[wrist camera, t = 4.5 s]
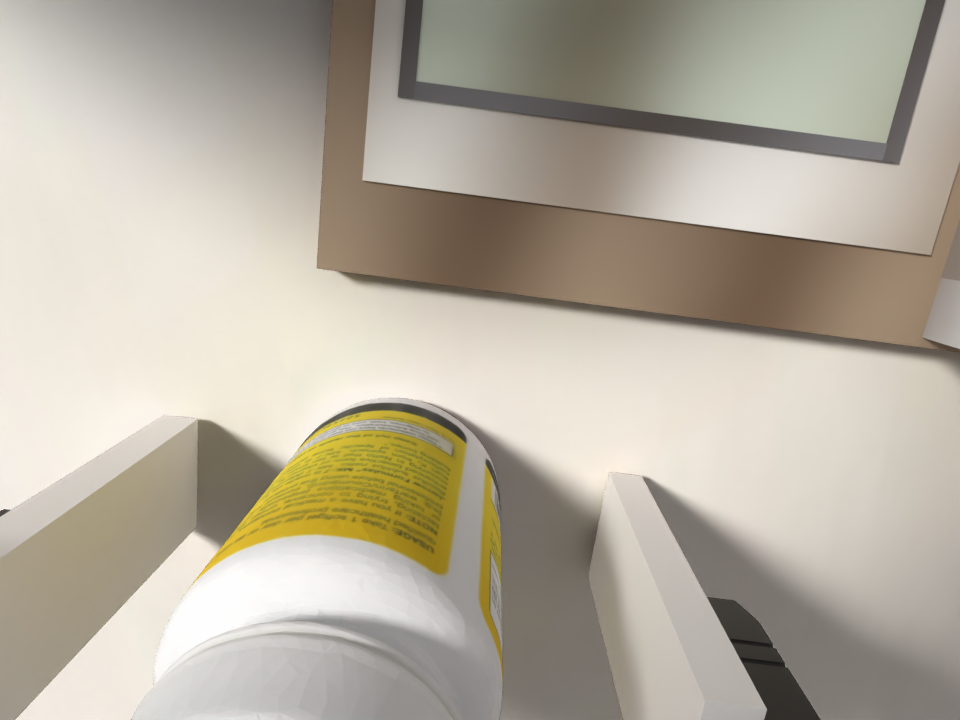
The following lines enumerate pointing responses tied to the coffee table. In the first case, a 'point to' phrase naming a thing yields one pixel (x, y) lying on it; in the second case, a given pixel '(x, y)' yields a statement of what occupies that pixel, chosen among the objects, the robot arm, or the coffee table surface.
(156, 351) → the coffee table surface
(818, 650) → the coffee table surface
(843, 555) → the coffee table surface
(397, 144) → the board
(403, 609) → the supplement bottle
